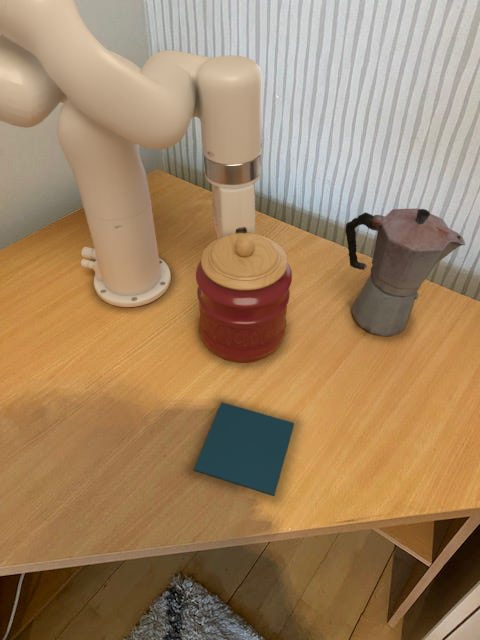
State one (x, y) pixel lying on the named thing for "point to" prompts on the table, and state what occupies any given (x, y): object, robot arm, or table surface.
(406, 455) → the table surface
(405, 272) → the moka pot
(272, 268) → the kitchen canister
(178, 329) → the table surface
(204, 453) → the cloth
